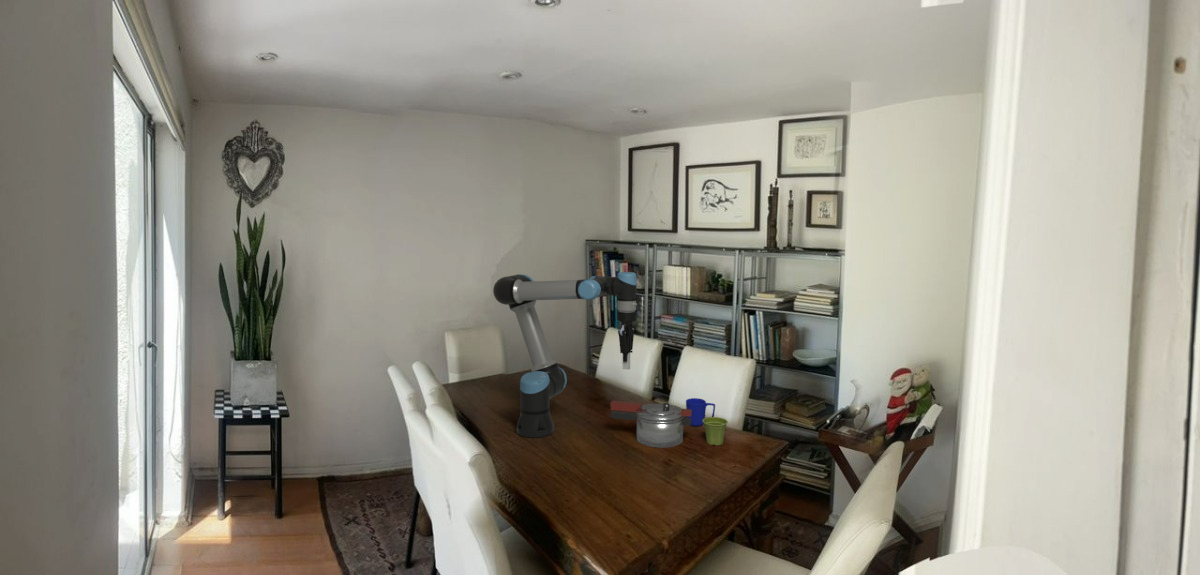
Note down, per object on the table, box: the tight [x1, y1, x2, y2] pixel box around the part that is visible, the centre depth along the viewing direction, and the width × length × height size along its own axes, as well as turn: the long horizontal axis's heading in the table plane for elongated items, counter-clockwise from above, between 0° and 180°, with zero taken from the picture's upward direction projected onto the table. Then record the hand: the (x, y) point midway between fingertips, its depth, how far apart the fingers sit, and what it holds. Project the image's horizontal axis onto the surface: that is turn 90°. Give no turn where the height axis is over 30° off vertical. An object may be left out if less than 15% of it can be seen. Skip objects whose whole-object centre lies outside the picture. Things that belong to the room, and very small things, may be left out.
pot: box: [610, 410, 692, 449], centre depth 226 cm, size 32×18×10 cm, turn 73°
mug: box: [685, 397, 716, 427], centre depth 241 cm, size 8×12×10 cm
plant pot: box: [703, 416, 728, 446], centre depth 220 cm, size 9×9×9 cm
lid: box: [610, 400, 692, 421], centre depth 225 cm, size 32×19×4 cm, turn 74°
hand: (626, 368), depth 232 cm, fingers closed
